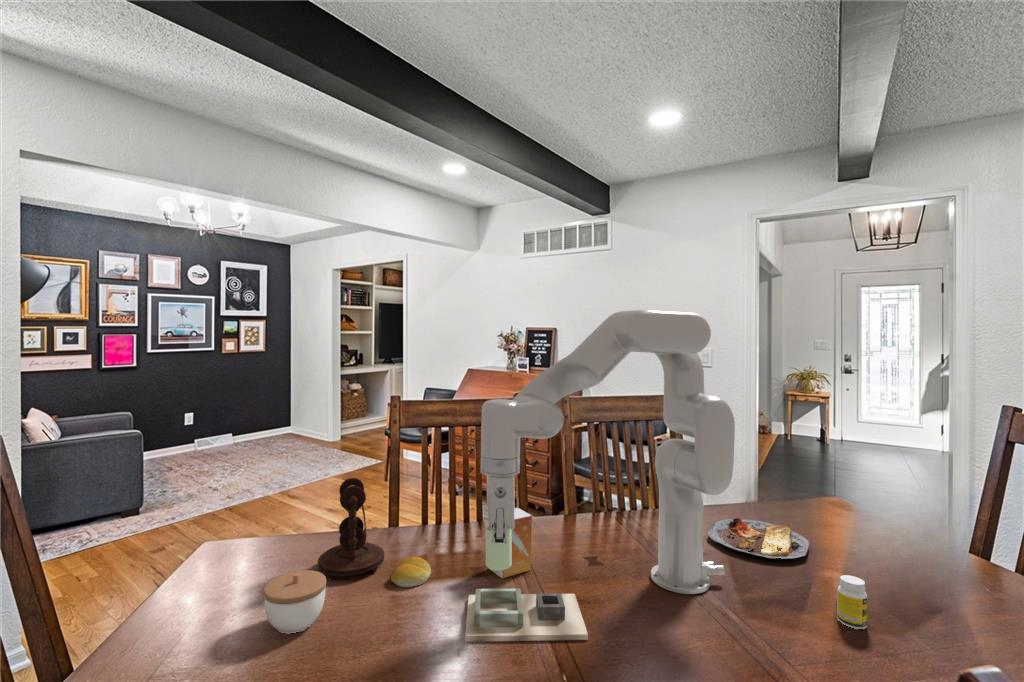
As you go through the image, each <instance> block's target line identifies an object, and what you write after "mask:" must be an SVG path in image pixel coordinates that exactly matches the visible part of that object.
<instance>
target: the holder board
mask: <svg viewBox="0 0 1024 682" xmlns="http://www.w3.org/2000/svg"><path fill="white" fill-rule="evenodd" d="M467 598H468V601H467V612H466V622H465V623H466V624H465V633H464V634H465V635H464V637H465V640H464V642H466V643H467V642H469V643H471V642H476V643H477V642H522V641H523V642H524V641H525V642H531V641H534V642H537V641H539V642H540V641H543V642H544V641H584V640H585V641H588V640H589V634H588V630H587V627H586V624H585V621H584V618H583V615H582V613H581V608H580V605H579V603H578V600H577V597H576V594H575V593H561V592H558V593H557V592H555V593H554V592H553V593H552V592H551V593H550V592H549V593H548V592H547V593H545V592H543V593H540V592H539V593H537V592H536V593H522V590H521V588H475V593H474V594H468V597H467Z"/></svg>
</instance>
